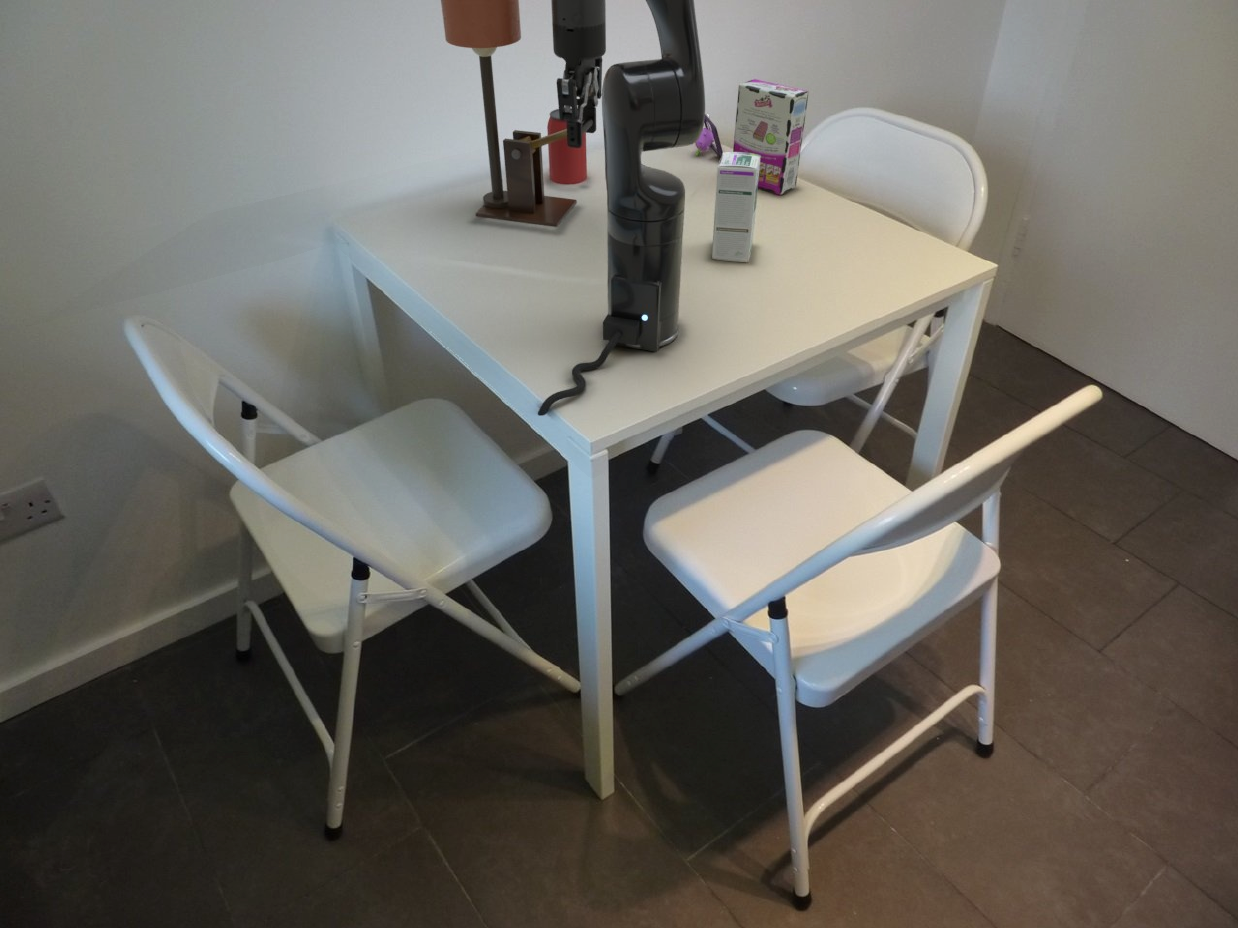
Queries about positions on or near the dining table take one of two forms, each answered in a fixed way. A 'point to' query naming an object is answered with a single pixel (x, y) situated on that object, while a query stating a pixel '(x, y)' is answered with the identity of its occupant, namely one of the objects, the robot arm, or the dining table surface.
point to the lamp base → (527, 186)
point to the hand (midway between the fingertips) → (582, 139)
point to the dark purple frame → (709, 138)
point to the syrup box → (735, 206)
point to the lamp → (485, 63)
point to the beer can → (565, 155)
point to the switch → (556, 135)
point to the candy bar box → (771, 131)
